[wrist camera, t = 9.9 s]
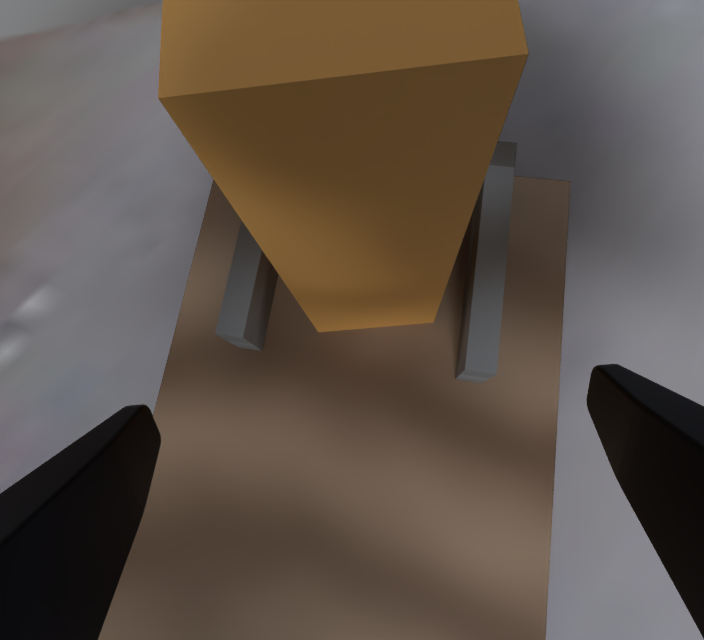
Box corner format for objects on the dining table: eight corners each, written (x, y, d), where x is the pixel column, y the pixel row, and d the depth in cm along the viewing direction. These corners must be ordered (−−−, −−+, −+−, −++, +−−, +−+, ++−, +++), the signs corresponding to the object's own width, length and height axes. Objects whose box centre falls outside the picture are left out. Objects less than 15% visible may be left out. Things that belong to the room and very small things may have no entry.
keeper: (528, 734, 15) (568, 823, 12) (112, 638, 17) (39, 689, 14) (560, 196, 20) (596, 143, 17) (230, 163, 22) (199, 110, 18)
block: (433, 322, 18) (528, 53, 5) (318, 332, 18) (158, 98, 6) (421, 217, 19) (476, -206, 7) (313, 227, 19) (169, -159, 7)
